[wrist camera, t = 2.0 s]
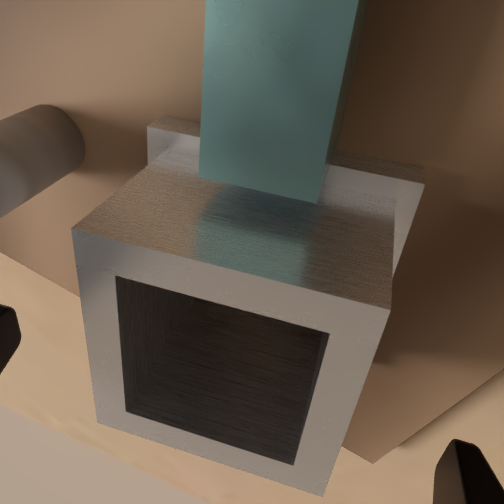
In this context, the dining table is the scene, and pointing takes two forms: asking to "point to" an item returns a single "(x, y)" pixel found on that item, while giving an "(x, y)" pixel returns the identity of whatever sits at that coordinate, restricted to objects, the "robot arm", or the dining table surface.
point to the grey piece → (249, 253)
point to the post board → (350, 140)
